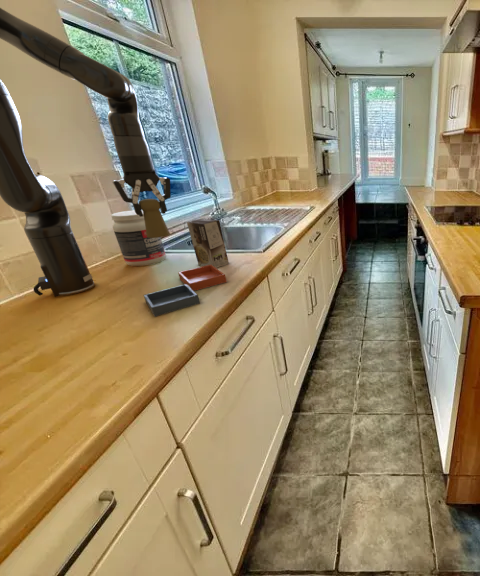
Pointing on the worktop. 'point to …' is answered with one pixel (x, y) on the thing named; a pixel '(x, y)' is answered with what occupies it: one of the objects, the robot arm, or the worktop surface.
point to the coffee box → (208, 242)
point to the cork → (153, 219)
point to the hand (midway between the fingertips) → (152, 214)
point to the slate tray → (171, 299)
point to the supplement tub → (136, 240)
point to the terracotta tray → (202, 277)
